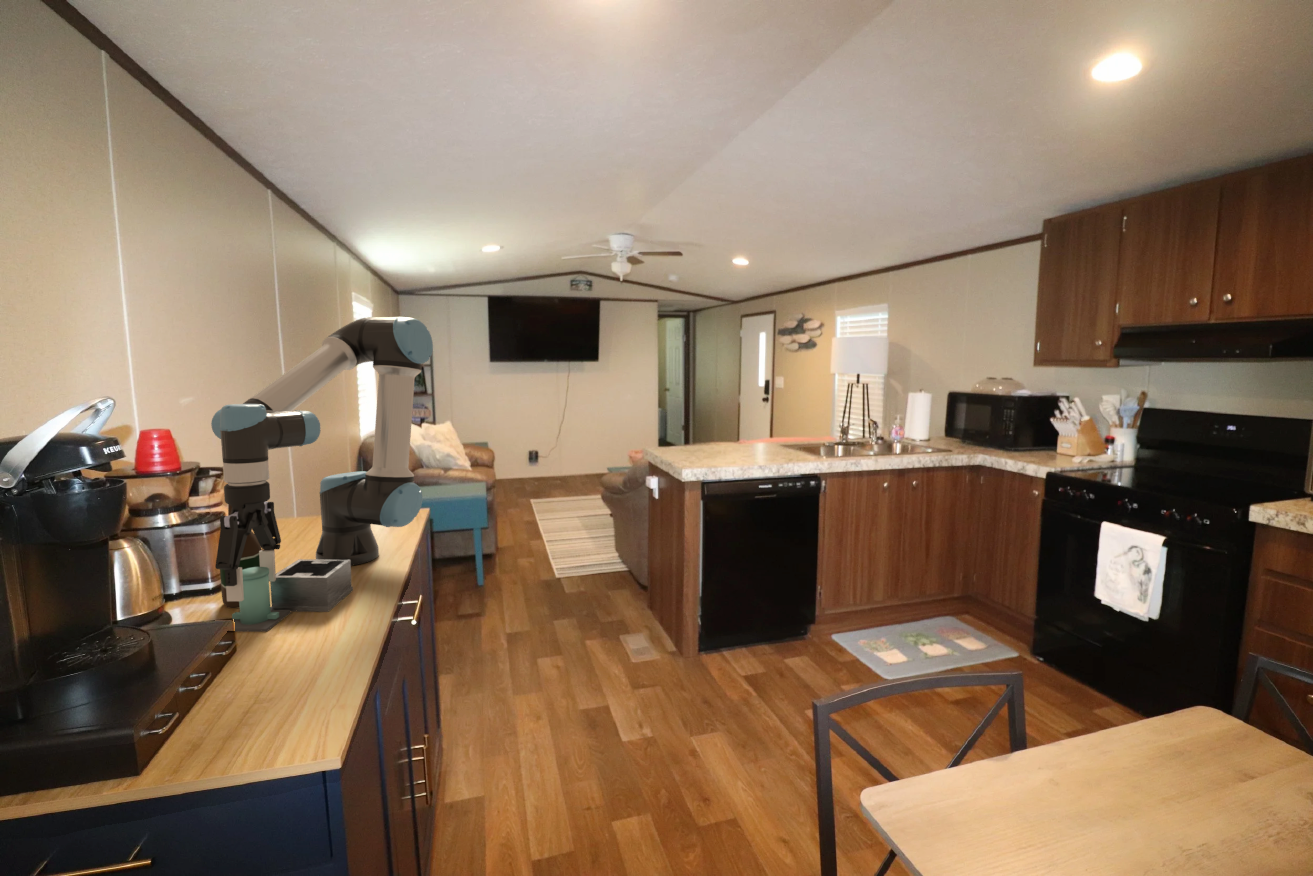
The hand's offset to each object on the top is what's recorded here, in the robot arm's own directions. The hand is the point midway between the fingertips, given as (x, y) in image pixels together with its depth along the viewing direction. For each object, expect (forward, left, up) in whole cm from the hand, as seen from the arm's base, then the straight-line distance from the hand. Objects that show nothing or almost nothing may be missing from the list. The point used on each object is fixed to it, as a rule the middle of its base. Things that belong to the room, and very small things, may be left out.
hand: (252, 590), depth 123 cm
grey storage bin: (-12, +6, -7) cm, 15 cm away
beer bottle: (-11, -9, -7) cm, 16 cm away
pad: (-1, 0, -7) cm, 7 cm away
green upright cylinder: (-1, 0, -6) cm, 6 cm away
